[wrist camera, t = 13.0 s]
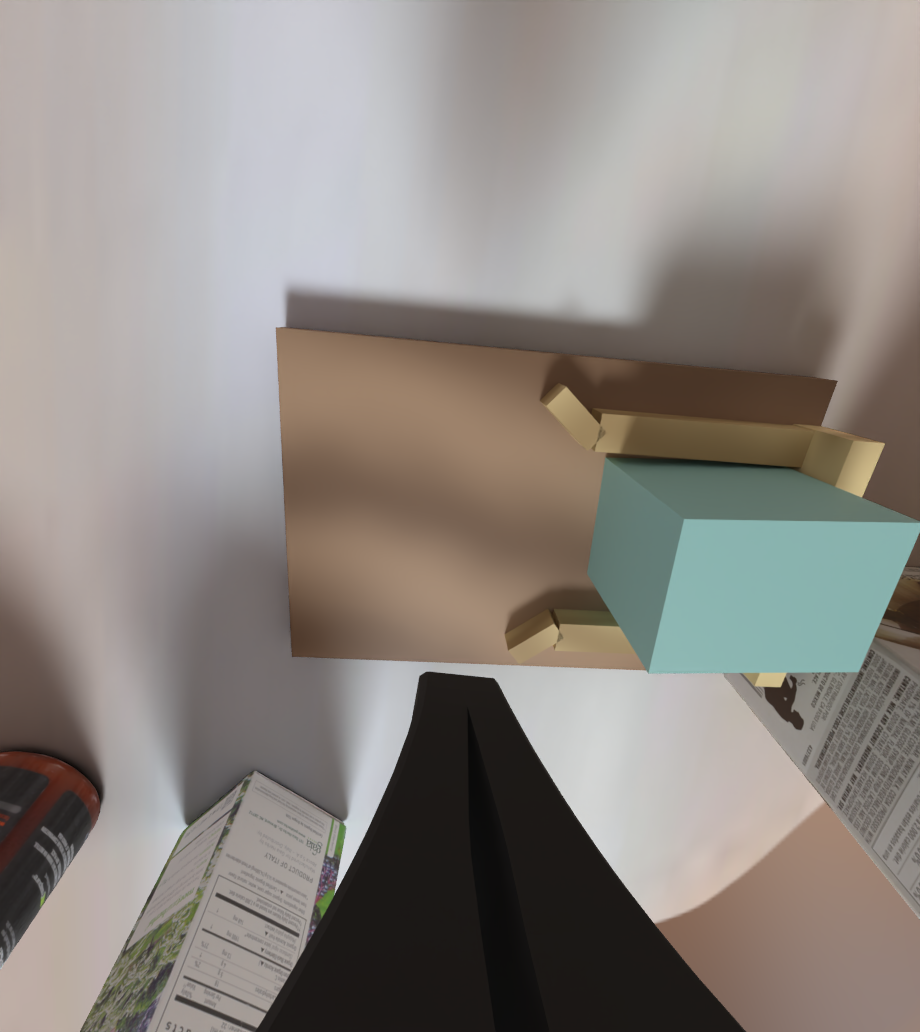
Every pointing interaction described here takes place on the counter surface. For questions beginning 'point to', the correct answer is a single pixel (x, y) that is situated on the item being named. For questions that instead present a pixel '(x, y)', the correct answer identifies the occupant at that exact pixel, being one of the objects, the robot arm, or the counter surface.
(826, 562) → the teal block
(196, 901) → the syrup box
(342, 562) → the slide board
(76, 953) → the counter surface
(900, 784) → the cookie box
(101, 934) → the counter surface
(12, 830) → the supplement bottle
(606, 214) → the counter surface
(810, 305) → the counter surface
